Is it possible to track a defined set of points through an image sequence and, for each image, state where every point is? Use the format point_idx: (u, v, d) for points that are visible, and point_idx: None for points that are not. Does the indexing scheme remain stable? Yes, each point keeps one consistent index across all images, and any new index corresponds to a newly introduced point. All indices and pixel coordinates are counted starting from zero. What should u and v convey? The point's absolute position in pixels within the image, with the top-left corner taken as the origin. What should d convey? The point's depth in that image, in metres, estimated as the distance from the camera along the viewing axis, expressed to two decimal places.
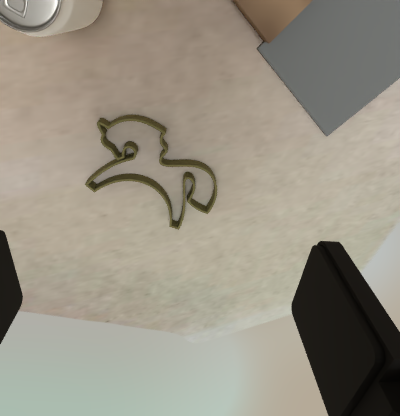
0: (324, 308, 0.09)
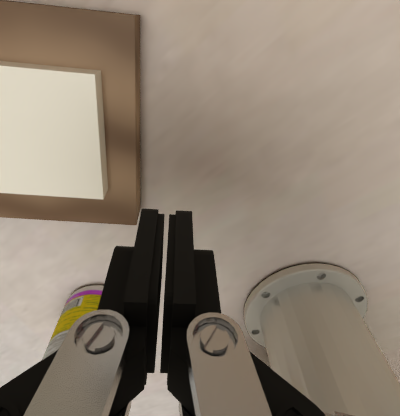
0: None
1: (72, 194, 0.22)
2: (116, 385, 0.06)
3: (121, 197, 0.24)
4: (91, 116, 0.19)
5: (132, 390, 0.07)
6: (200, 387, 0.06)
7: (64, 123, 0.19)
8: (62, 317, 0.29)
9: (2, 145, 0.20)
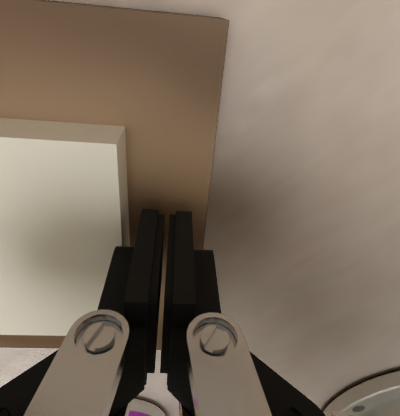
0: None
1: None
2: (116, 385, 0.06)
3: None
4: (108, 217, 0.10)
5: (132, 390, 0.07)
6: (200, 387, 0.06)
7: (55, 231, 0.10)
8: None
9: None
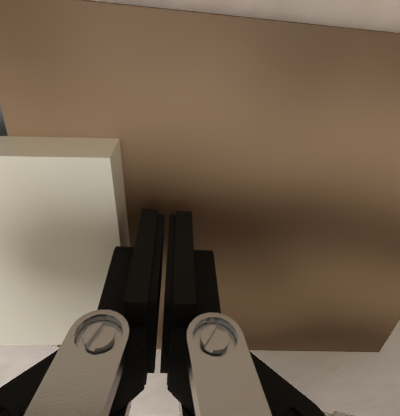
0: None
1: None
2: (116, 385, 0.06)
3: (376, 321, 0.15)
4: (106, 229, 0.10)
5: (133, 390, 0.07)
6: (200, 387, 0.06)
7: (55, 244, 0.10)
8: None
9: None
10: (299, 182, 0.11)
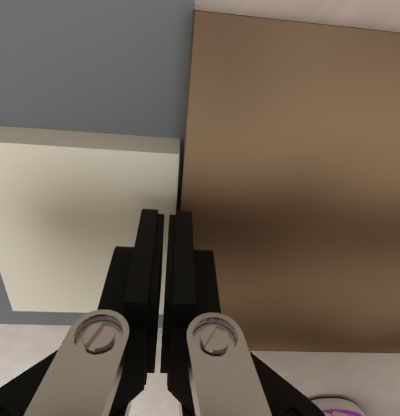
0: None
1: None
2: (116, 385, 0.06)
3: None
4: (166, 212, 0.12)
5: (132, 390, 0.07)
6: (200, 387, 0.06)
7: (122, 223, 0.12)
8: None
9: (23, 254, 0.13)
10: None
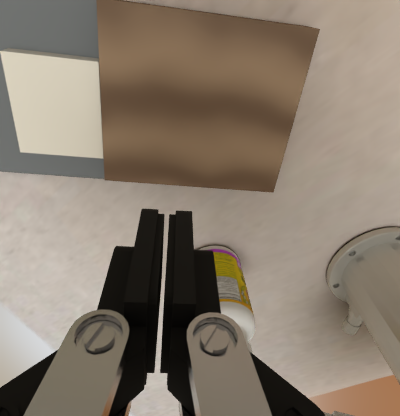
0: None
1: (79, 154, 0.28)
2: (116, 385, 0.06)
3: (268, 169, 0.30)
4: (95, 93, 0.25)
5: (132, 391, 0.07)
6: (200, 387, 0.06)
7: (74, 98, 0.26)
8: None
9: (27, 115, 0.26)
10: (221, 84, 0.25)
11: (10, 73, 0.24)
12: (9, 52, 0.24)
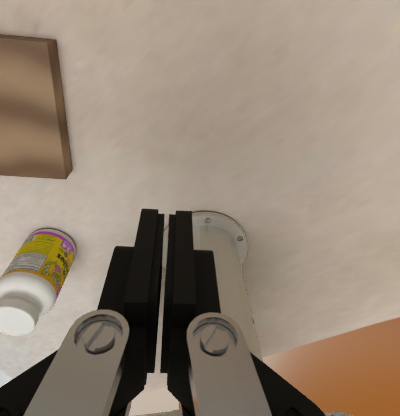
0: None
1: None
2: (116, 385, 0.06)
3: (53, 159, 0.35)
4: None
5: (132, 390, 0.07)
6: (200, 387, 0.06)
7: None
8: (20, 248, 0.40)
9: None
10: None
11: None
12: None
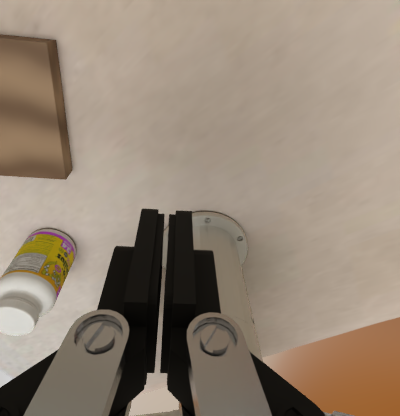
0: None
1: None
2: (116, 385, 0.06)
3: (53, 159, 0.35)
4: None
5: (132, 390, 0.07)
6: (200, 387, 0.06)
7: None
8: (20, 248, 0.40)
9: None
10: None
11: None
12: None
